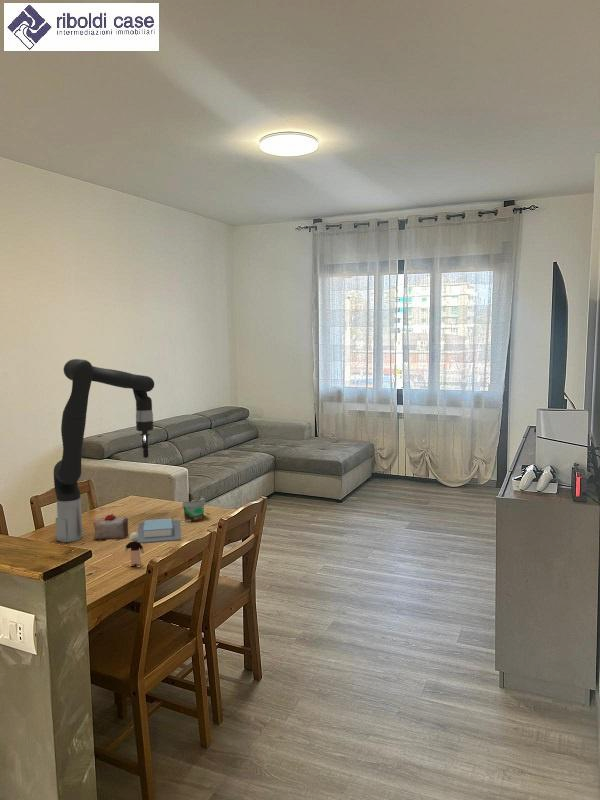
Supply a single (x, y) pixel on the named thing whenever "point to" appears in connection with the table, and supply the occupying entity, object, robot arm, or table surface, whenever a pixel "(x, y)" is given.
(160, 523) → the book
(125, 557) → the table surface
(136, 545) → the grandmother figurine
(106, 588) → the table surface
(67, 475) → the robot arm
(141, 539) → the mat
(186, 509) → the food container
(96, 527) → the food item
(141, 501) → the table surface
